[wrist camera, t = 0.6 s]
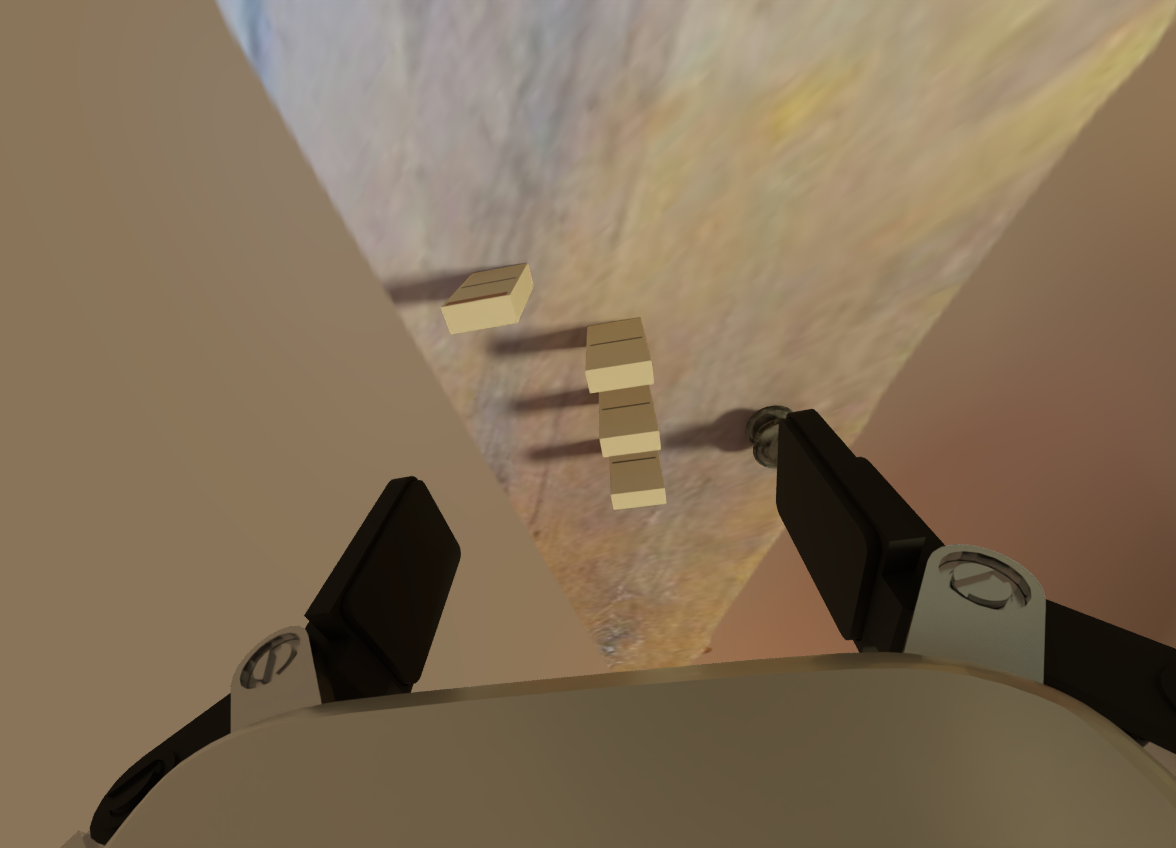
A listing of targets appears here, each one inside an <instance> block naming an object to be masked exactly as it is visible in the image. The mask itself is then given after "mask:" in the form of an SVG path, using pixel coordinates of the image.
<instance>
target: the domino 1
mask: <svg viewBox="0 0 1176 848" xmlns="http://www.w3.org/2000/svg"><path fill="white" fill-rule="evenodd" d="M532 289H533V282H532V278H531V274H530V270H529V266H528V263H524V264H519V265H514V266H508V267H503V268H498V269H493V270H487V271H482V272H477V273H472V274H471V275H470V276H469V277H468V278H467V280H466V281H465V282H464V283H463V284H462V285H461V286H460V287H459V288H458V289H457V290H456V291H455V292H454V293H453V295H452V296H451V297H450V298H449V299H448V300H447V301H446V302H445V303H444V304H443V305H442V306H441V307H440V308H441V310H442V313H443V315H444V318H445V321H446V323H447V326H448V328H449V331H450V333H451V334H456V333H462V332H468V331H473V330H479V329H485V328H491V327H496V326H502V325H508V324H514V323H518V321H519V319H520V317H521V314H522V312H523V310H524V307H525V305H526V303H527V300H528V298H529V296H530V293H531V291H532Z"/></svg>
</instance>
